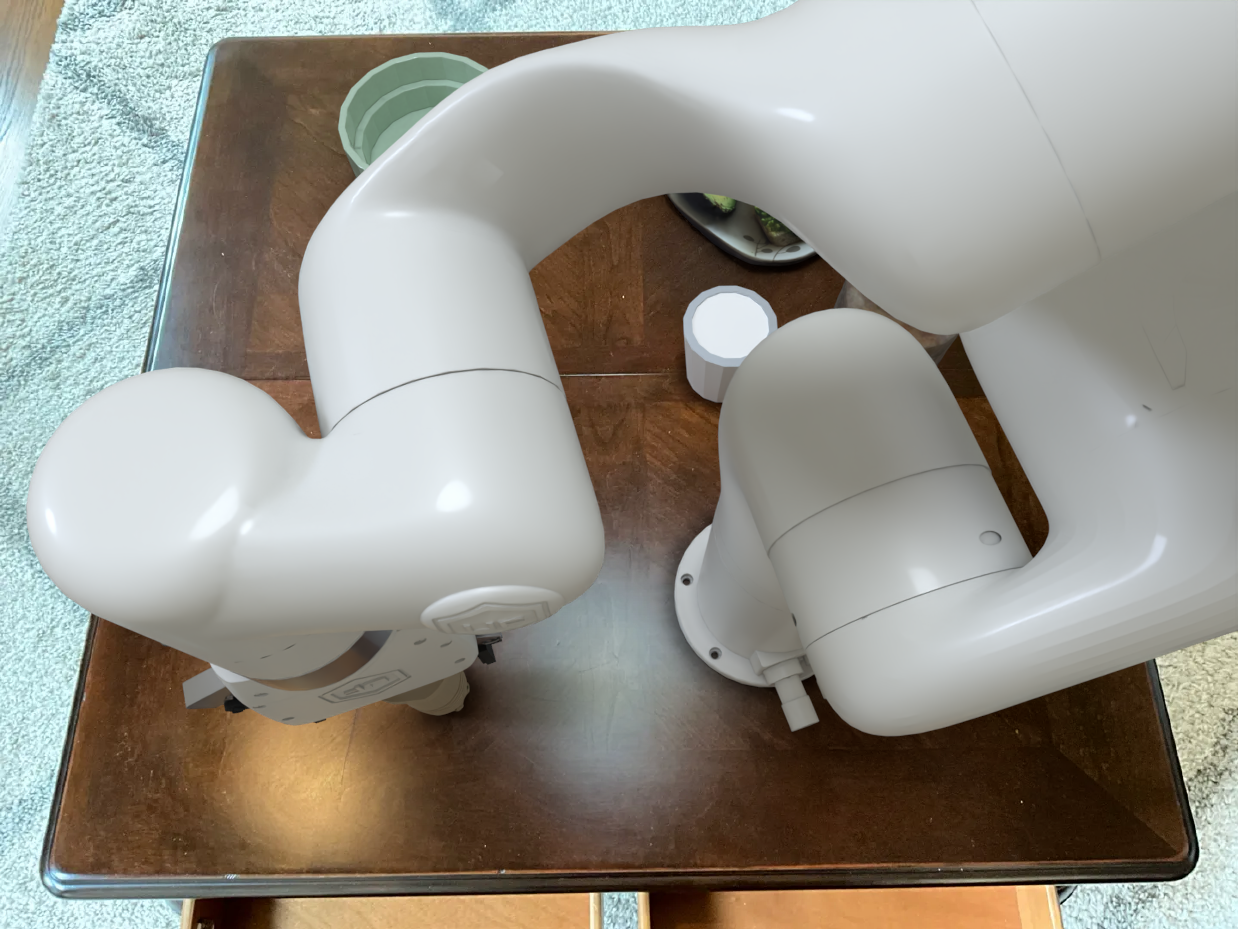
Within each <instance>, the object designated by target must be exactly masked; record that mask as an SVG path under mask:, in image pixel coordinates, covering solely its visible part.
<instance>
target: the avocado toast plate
mask: <svg viewBox="0 0 1238 929" xmlns="http://www.w3.org/2000/svg"><path fill="white" fill-rule="evenodd" d="M666 195H667V196H666V197H668V199H669V200H670V202H671V203H672V204H673V205H674V207H675V209H677V211H678V212H679V213H680V214H681V215H682V216H683V217H684V218H685V219H686V220H687V221H688V222H689V223H690V224H691V226H693V227H694V228H695V229H696V230H697V231H698V232H700V234H702V235H703V237H705V238H706V239H708V240H709V241H710V242H711V243H712V244H713V245H714V246H716V247H718V248H719V249H721V250H722V251H723V252H725V253H727V254H729V255H730V256H732V257H735V258H737V259H739V260H740V261H743V262H745V263H747V264H750V265H753V266H764V267H785V266H786V267H787V266H790V265H795V264H798V263H799V264H800V263H802V262H804V261H807V260H808V259H810V258H812V257H815V255H819V254H818V253H816V252H815V251H814V250H813V249H812V248H811V247H810V246H809V245H808V244H807V243H806V242H804V241H803V240H802V239H801V238H800V237H798V236H797V235H796V234H795V233H794V232H793V231H791V230H790V229H789V228H788V227H787V226H785V225H784V224H783V223H782V222H780V221H779V220H777V219H776V218H774V217H772V216H771V215H769V214H768V213H766V212H765V211H763V210H761V209H760V208H758V207H756V206H754V205H751V204H748V203H745V202H741V201H738V200H735V199H732V198H729V197H726V196H720V195H713V194H706V193H699V192H690V193H668V194H666Z"/></svg>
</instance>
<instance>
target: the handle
mask: <svg viewBox="0 0 1238 929" xmlns="http://www.w3.org/2000/svg"><path fill="white" fill-rule="evenodd" d="M469 693H470V684H469V682H467V677H466V674H465V672H464V670H463V671H461V672H459V673H457V674H454V675H452V676H449V677H446V678H444V679H441V680H438V681H436V682H433V683H430V684H427V685H424V686H421V687H418V688H416V689H413V690H410V691H407V692H404V693H401V694H398V695H395V696H393V697H390V698H387V699H384V700H381V702H385V703H388V704H391V705H408V706H409V707H410V708H412V709H414V710H416V711H418V712H420V713H424V714H428V715H431V716H438V717H439V716H443V715H446V714H447V715H448V714H449V713H452V712H460V711H461V710H462V709H463V708H464V702H465V698H466V697H467V695H468V694H469Z"/></svg>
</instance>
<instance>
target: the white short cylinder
mask: <svg viewBox="0 0 1238 929" xmlns="http://www.w3.org/2000/svg"><path fill="white" fill-rule="evenodd" d="M682 321H683V339H684V354H685V355H684V356H685V368H686V370H685V371H686V379H687V381H688V383H689V385H690V386H691V388H692V390H693V391H695V393H697V394H698V395H700V397H702V398H703V399H705V400H708V401H711V402H714V403H723V400H724V396H725V393H726V391H727V388H728V385H729V383H730V381H731V379H732V377H733V376H734V374H735V372H736V370H737V369H738V367H739V366H740V364H741V363H742V361H743V360H744V359H745V358H746V356H747V355H748V354H749V353H750V352H751V351H752V350H753V349H754V348H755V347H756V346H757V345H758V344H759V343H760V342H761V341H762V340H763V339H765V338H766V337H767V336H768V335H770V334H771V333H772V332H774V331H775V330H777V329H778V319H777V315H776V313H775V312H774V310H773V309H772V306H771V305H770V303H769V302H768V301H767V300H766V299H765V298H764V297H762V296H761V295H760V294H759V293H757V292H756V291H754V290H751V289H748V288H746V287H742V286H738V285H718V286H714V287H711V288H709V289H707V290H704V291H702V292H700V293H699V294H698V295H697V296H696V297H695V298H694V299H693V300H691V301H690V302H689V304H688V306H687V309H686V311H685V313H684V315H683V318H682Z"/></svg>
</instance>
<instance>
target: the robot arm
mask: <svg viewBox="0 0 1238 929" xmlns="http://www.w3.org/2000/svg"><path fill="white" fill-rule="evenodd" d="M488 69H489V70H488V71H486V72H484V73H482V74H481V75H479V76H477V77H476V78H474V79H472V80H470V81H469V82H467V83H465V84H464V85H462V86H461V87H460V88H458V89H457V90H456V91H454V92H453V93H452V94H450V95H449V96H448V97H446V98H445V99H444V100H442V101H441V102H440V103H439V104H438V105H436V106H435V107H434V108H433V109H432V110H431V111H429V112H428V113H427V114H426V115H425V116H424V117H422V118H421V119H420V120H419V121H418V122H417V123H416V124H415V125H414V126H413V127H412V128H410V129H409V130H408V131H407V132H406V133H405V134H404V135H403V136H402V137H401V138H399V139H398V140H397V141H396V142H395V143H394V144H393V145H392V146H391V147H389V148H388V149H387V150H386V151H385V152H384V153H383V154H382V155H381V156H379V157H378V158H377V159H376V160H375V161H374V162H373V163H372V164H371V165H370V166H369V167H368V168H367V169H366V170H364V171H363V172H362V173H361V174H360V175H359V176H358V177H357V178H356V177H355V179H354V180H353V181H352V182H351V183H350V184H349V185H348V186H347V187H346V188H345V189H344V190H343V192H342V193H341V194H340V195H339V196H338V197H337V198H336V199H335V201H334V202H333V203H332V204H331V205H330V207H329V208H328V210H327V211H326V213H325V215H324V216H323V217H322V219H321V220H320V222H319V223H318V225H317V226H316V228H315V230H314V231H313V233H312V235H311V237H310V239H309V240H308V243H307V245H306V249H305V251H304V255H303V258H302V261H301V265H300V269H299V272H298V283H297V285H298V286H297V288H298V289H297V291H298V292H297V294H298V295H297V296H298V297H297V298H298V306H299V314H300V322H301V329H302V336H303V342H304V350H305V356H306V360H307V361H306V363H307V367H308V372H309V373H308V374H309V378H310V383H311V388H312V394H313V401H314V405H315V410H316V416H317V422H318V427H319V432H320V438H311V437H309V436H308V435H307V434H306V433H305V431H304V430H303V429H302V427H301V426H300V424H298V423H297V421H296V420H295V419H294V417H292V416H291V414H290V413H289V412H288V411H287V410H286V409H285V408H284V407H283V406H281V404H280V403H278V402H277V401H276V400H275V398H273V396H271V394H269V393H267V392H266V391H265V390H263V389H261V388H259V387H257V386H256V385H254V384H252V383H250V382H249V381H247V380H245V379H243V378H240V377H238V376H235V375H232V374H229V373H227V372H223V371H219V370H215V369H207V368H204V367H203V368H202V367H185V366H184V367H183V366H182V367H181V366H179V367H178V366H176V367H175V366H174V367H169V368H161V369H155V370H150V371H146V372H143V373H139V374H136V375H132V376H128V377H126V378H123V379H122V380H119V381H117V382H115V383H113V384H111V385H107V386H106V387H104V388H103V389H102V390H100V391H98V392H97V393H95V394H93V395H92V396H90V397H89V398H87V399H86V400H85V401H84V402H83V403H81V404H80V405H79V406H78V407H76V408H75V409H74V410H73V411H71V412H70V413H69V415H68V416H66V417H65V418H64V420H63V421H62V422H61V423H59V425H58V427H57V428H56V429H55V431H54V432H53V433H52V434H51V436H50V437H49V439H48V440H47V442H46V443H45V445H44V446H43V448H42V451H41V452H40V454H39V455H38V458H37V460H36V463H35V466H34V468H33V471H32V474H31V477H30V480H29V486H28V493H27V498H26V502H25V503H26V504H25V508H26V509H25V510H26V527H27V532H28V536H29V540H30V544H31V548H32V550H33V552H34V555H35V556H36V558H37V560H38V562H39V564H40V566H41V568H42V570H43V572H44V573H45V575H46V576H47V577H48V578H49V579H50V580H51V581H52V582H53V584H54V585H55V586H56V588H57V589H58V590H59V591H60V592H61V593H62V594H63V595H64V596H65V597H66V598H67V599H69V600H70V601H72V602H74V603H75V604H77V605H78V606H79V607H81V608H82V609H84V610H86V611H88V612H89V613H90V614H92V615H94V616H96V617H99V618H101V619H104V620H105V621H109V622H110V623H112V624H115V625H116V626H117V625H118V626H120V627H122V628H125V629H127V630H130V631H132V632H134V633H137V634H139V635H141V636H144V637H146V638H149V639H151V640H154V641H155V642H157V643H160V644H161V645H162V646H163V647H166V648H168V647H170V648H172V649H175V650H177V651H180V652H183V653H185V654H187V655H188V656H192V657H194V658H196V659H199V660H201V661H204V662H206V663H209V665H210V667H209V668H207V669H206V670H204V671H201V672H200V673H198V674H196V675H194V676H193V677H190V678H189V679H187V680H185V681H183V682H182V690H183V696H184V698H183V699H184V704H185V709H186V710H201V709H204V710H205V709H217V708H219V707H221V706H223V707H224V708H223V709H224V712H229V713H231V714H233V715H234V714H240V713H243V712H244V711H246V710H252V711H254V712H256V713H257V714H259V715H261V716H263V717H265V718H267V719H270V720H272V721H274V722H278V723H281V724H284V725H289V726H303V725H307V724H312V723H315V724H319V723H322V722H325V721H326V720H327V719H330V718H332V717H335V716H338V715H339V716H340V715H342V714H344V713H348V712H351V711H354V710H356V709H359V708H363V707H365V706H368V705H372V704H375V703H378V702H380V701H381V700H384V699H387V698H390V697H393V696H395V695H398V694H401V693H404V692H407V691H410V690H413V689H416V688H418V687H421V686H424V685H427V684H430V683H433V682H436V681H438V680H441V679H444V678H446V677H449V676H452V675H454V674H457V673H459V672H461V671H463V672H464V671H465V670H467V669H468V668H470V667H471V666H472V665H473V664H474V662H475V661H476V660H477V658H478V659H479V660H480V662H481V663H482V664H483V665H485V664H486V666H488V665H491V664H494V663H496V662H497V659H496V655H495V651H494V648H493V645H495V644H498V643H501V642H503V634H502V633H506V632H510V631H515V630H518V629H523V628H527V627H530V626H532V625H536V624H538V623H540V622H543V621H544V620H547V619H549V618H551V617H552V616H553V615H555V614H557V613H558V612H559V611H560V610H561V609H562V608H563V607H565V606H567V605H569V604H570V603H573V602H574V601H576V600H577V599H579V598H580V597H582V596H583V595H584V594H586V592H587V591H588V590H590V588H591V587H592V586H593V585H594V583H595V582H596V580H597V579H598V577H599V575H600V573H601V571H602V568H603V564H604V561H605V555H606V554H605V553H606V541H605V538H606V537H605V529H604V528H605V527H604V523H603V520H602V513H601V509H600V505H599V503H598V499H597V496H596V492H595V489H594V485H593V483H592V479H591V475H590V472H589V470H588V466H587V463H586V459H585V456H584V453H583V450H582V446H581V443H580V439H579V436H578V433H577V430H576V427H575V423H574V419H573V417H572V414H571V411H570V406H569V404H568V400H567V396H566V392H565V389H564V386H563V383H562V379H561V376H560V373H559V370H558V366H557V364H556V359H555V356H554V354H553V353H554V352H553V350H552V347H551V344H550V340H549V337H548V333H547V330H546V327H545V324H544V321H543V317H542V315H541V311H540V306H539V302H538V299H537V296H536V292H535V289H534V286H533V282H532V280H531V276H530V272H531V271H532V270H533V269H534V268H535V267H536V266H537V265H538V264H540V263H541V262H542V261H544V260H545V259H546V258H548V257H549V256H550V255H551V254H553V253H554V252H555V251H557V250H558V249H559V248H561V246H564V244H566V243H567V242H568V241H570V240H571V239H572V238H574V237H575V236H576V235H578V234H579V233H581V232H583V231H584V230H586V228H588V227H589V226H591V225H592V224H593V223H595V222H597V221H598V220H601V219H602V218H604V217H606V216H607V215H610V214H611V213H613V212H615V211H616V210H619V209H621V208H624V207H627V206H629V205H631V204H634V203H636V202H638V201H641V200H644V199H645V200H646V199H650V198H654V197H658V196H659V197H660V196H663V195H667V194H668V193H690V192H699V193H706V194H713V195H720V196H726V197H729V198H732V199H735V200H738V201H741V202H745V203H748V204H751V205H754V206H756V207H758V208H760V209H761V210H763V211H765V212H766V213H768V214H769V215H771V216H772V217H774V218H776V219H777V220H779V221H780V222H782V223H783V224H784V225H785V226H787V227H788V228H789V229H790V230H791V231H793V232H794V233H795V234H796V235H797V236H798V237H800V238H801V239H802V240H803V241H804V242H806V243H807V244H808V245H809V246H810V247H811V248H812V249H813V250H814V251H815V252H816V253H818V254H817V255H819V257H820V258H822V259H823V260H824V261H825V262H826V263H827V264H828V265H829V266H830V267H831V268H833V269H834V270H835V271H836V272H837V273H838V274H839V275H841V276H842V277H843V278H844V279H846V280H847V281H849V282H850V283H851V284H852V285H853V286H854V287H855V288H856V289H858V290H859V291H860V292H861V293H862V294H863V295H864V296H866V297H867V298H868V299H870V300H871V301H873V302H874V303H875V304H877V305H878V306H879V307H881V308H882V309H883V310H885V311H886V312H887V313H889V314H890V315H892V316H893V317H894V318H896V319H898V320H900V321H902V322H904V323H906V324H908V325H910V326H913V327H915V328H917V329H919V330H921V331H924V332H929V333H933V334H940V335H952V334H958V333H959V335H958V336H959V338H960V340H961V343H962V346H963V349H964V351H965V353H966V356H967V358H968V360H969V363H970V365H971V368H972V370H973V372H974V375H975V376H976V379H977V381H978V383H979V385H980V387H981V389H982V391H983V393H984V395H985V397H986V400H987V402H988V403H989V405H990V407H991V409H992V411H993V413H994V415H995V417H996V420H997V421H998V423H999V424H1000V427H1001V429H1002V431H1003V433H1004V435H1005V436H1006V439H1007V441H1008V443H1009V444H1010V447H1011V448H1012V450H1013V453H1014V454H1015V456H1016V458H1017V461H1018V462H1019V464H1020V466H1021V468H1022V470H1023V472H1024V474H1025V476H1026V478H1027V480H1028V482H1029V483H1030V485H1031V488H1032V489H1033V491H1034V494H1035V495H1036V497H1037V499H1038V501H1039V503H1040V505H1041V507H1042V509H1043V511H1044V513H1045V515H1046V519H1047V521H1048V534H1047V537H1046V539H1045V542H1044V544H1043V546H1042V547H1041V548H1040V550H1039V551H1038V552H1037V554H1036V555H1035V556H1034V557H1033V556H1032V553H1031V551H1030V549H1029V547H1028V545H1027V544H1026V542H1025V538H1023V535H1022V533H1021V531H1020V529H1019V527H1018V525H1017V523H1016V521H1015V518H1014V516H1012V513H1011V511H1010V509H1009V506H1008V505H1007V503H1006V501H1005V499H1004V497H1003V495H1002V493H1001V491H1000V490H999V487H998V485H997V482H996V481H995V479H994V477H993V475H992V469H991V468H990V465H989V463H988V461H987V459H986V457H985V455H984V453H983V451H982V449H981V447H980V445H979V443H978V441H977V439H976V437H975V434H974V433H973V431H972V428H971V427H970V425H969V423H968V421H967V419H966V417H965V415H964V414H963V410H962V409H961V407H960V406H959V403H958V402H957V399H956V398H955V396H954V393H953V391H952V390H951V388H950V386H949V385H948V383H947V380H946V379H945V377H944V376H943V374H942V373H941V371H940V368H938V365H937V366H936V364H935V363H934V361H933V360H932V359H931V357H930V356H929V355H928V353H927V352H926V351H925V349H924V348H923V347H922V345H921V344H920V343H919V342H918V341H917V340H916V339H915V338H914V337H913V336H912V335H911V334H910V333H909V332H908V331H907V330H905V329H904V328H903V327H902V326H900V325H899V324H898V323H896V322H894V321H892V320H891V319H889V318H887V317H885V316H883V315H880V314H877V313H874V312H871V311H866V310H861V309H853V308H838V309H833V308H828V309H824V310H819V311H814V312H811V313H808V314H805V315H801V316H799V317H797V318H794V319H792V320H791V321H788V322H787V323H785V324H783V325H782V326H781V327H779V328H778V327H777V330H775V331H774V332H772V333H771V334H770V335H768V336H767V337H766V338H765V339H763V340H762V341H761V342H760V343H759V344H758V345H757V346H756V347H755V348H754V349H753V350H752V351H751V352H750V353H749V354H748V355H747V356H746V358H745V359H744V360H743V361H742V363H741V364H740V366H739V367H738V369H737V370H736V372H735V374H734V376H733V377H732V379H731V381H730V383H729V385H728V388H727V391H726V393H725V396H724V400H723V402H721V403H722V404H721V408H720V413H719V420H718V428H717V429H718V430H717V437H718V438H717V444H718V461H719V474H720V475H719V477H720V494H719V498H718V501H717V504H716V507H715V511H714V515H713V518H712V522H711V524H708V525H707V526H706V527H705V528H704V529H703V530H701V531H700V533H698V534H697V535H696V536H695V537H694V538H693V539H692V541H691V542H690V544H689V545H688V547H687V548H686V549H685V551H684V554H683V555H682V558H681V560H680V562H679V564H678V567H677V571H676V576H675V581H674V589H673V597H674V611H675V614H676V618H677V621H678V625H679V627H680V630H681V632H682V634H683V636H684V637H685V638H684V639H686V642H687V644H688V645H689V646H690V647H691V649H692V650H693V651H694V653H695V655H697V656H698V657H699V658H700V659H701V660H702V661H703V662H704V663H705V664H706V665H707V666H708V667H709V668H711V669H712V670H713V671H715V672H717V673H719V674H720V675H722V676H723V677H725V678H726V679H730V680H732V681H734V682H737V683H739V684H742V685H747V686H752V687H756V688H757V687H758V688H775V690H776V692H777V695H778V697H779V699H780V702H781V705H780V706H781V709H782V711H783V714H784V716H785V719H786V722H787V723H788V726H789V730H790V731H791V733H792V732H797V731H798V730H802V729H804V728H807V727H810V726H812V725H815V724H817V723H819V722H820V719H819V717H818V715H817V712H816V710H815V707H814V705H813V703H812V700H811V698H810V696H809V695H808V694H807V692H806V690H805V687H804V684H803V682H802V681H805V680H807V679H809V678H810V677H812V676H814V677H815V679H816V683H817V684H816V685H817V687H818V689H819V691H820V693H821V695H822V698H823V700H826V701H827V703H828V704H829V705H830V707H831V708H832V709H833V711H834V712H835V713H836V714H837V715H838V716H839V717H840V718H841V720H843V722H845V723H846V724H847V725H849V726H851V727H852V728H855V729H857V730H858V731H861V732H863V733H866V734H869V735H873V736H882V737H900V736H901V737H902V736H909V735H916V734H917V735H918V734H923V733H927V732H930V731H935V730H940V729H944V728H946V727H951V726H953V725H958V724H960V723H963V722H964V723H965V722H967V721H970V720H974V719H976V718H979V717H982V716H986V715H989V714H992V713H996V712H998V711H1001V710H1004V709H1007V708H1011V707H1014V706H1016V705H1020V704H1022V703H1026V702H1028V701H1032V700H1034V699H1037V698H1041V697H1042V696H1043V697H1044V696H1046V695H1050V694H1052V693H1054V692H1058V691H1061V690H1064V689H1067V688H1070V687H1073V686H1076V685H1079V684H1081V683H1085V682H1088V681H1091V680H1094V679H1097V678H1100V677H1103V676H1107V675H1109V674H1113V673H1115V672H1117V671H1121V670H1125V669H1127V668H1130V667H1133V666H1136V665H1139V664H1142V663H1145V662H1149V661H1151V660H1154V659H1158V658H1160V657H1163V656H1167V655H1170V654H1172V653H1175V652H1178V651H1181V650H1184V649H1187V648H1191V647H1193V646H1196V645H1200V644H1202V643H1205V642H1208V641H1211V640H1214V639H1217V638H1220V637H1224V636H1226V635H1229V634H1233V633H1234V632H1235V633H1236V632H1238V0H796V1H795V2H793V3H792V4H790V5H789V6H786V7H784V8H783V9H780V10H777V11H775V12H773V13H770V14H768V15H766V16H763V17H761V18H758V19H755V20H750V21H746V22H740V23H733V24H717V25H716V24H715V25H714V24H713V25H676V26H675V25H674V26H655V27H645V28H636V29H629V30H625V31H617V32H612V33H608V34H604V35H599V36H595V37H591V38H587V39H583V40H577V41H575V42H571V43H567V44H562V45H559V46H555V47H551V48H545V49H543V50H539V51H536V52H532V53H529V54H525V55H522V56H518V57H516V58H513V59H512V60H508V61H506V62H504V63H501V64H499V65H496V66H495V67H492V68H488ZM685 580H687V581H688V582H689V583H688V584H685V583H684V581H685ZM713 653H715V654H716V655H717V657H716V658H713V657H712V654H713ZM381 702H382V701H381Z"/></svg>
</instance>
